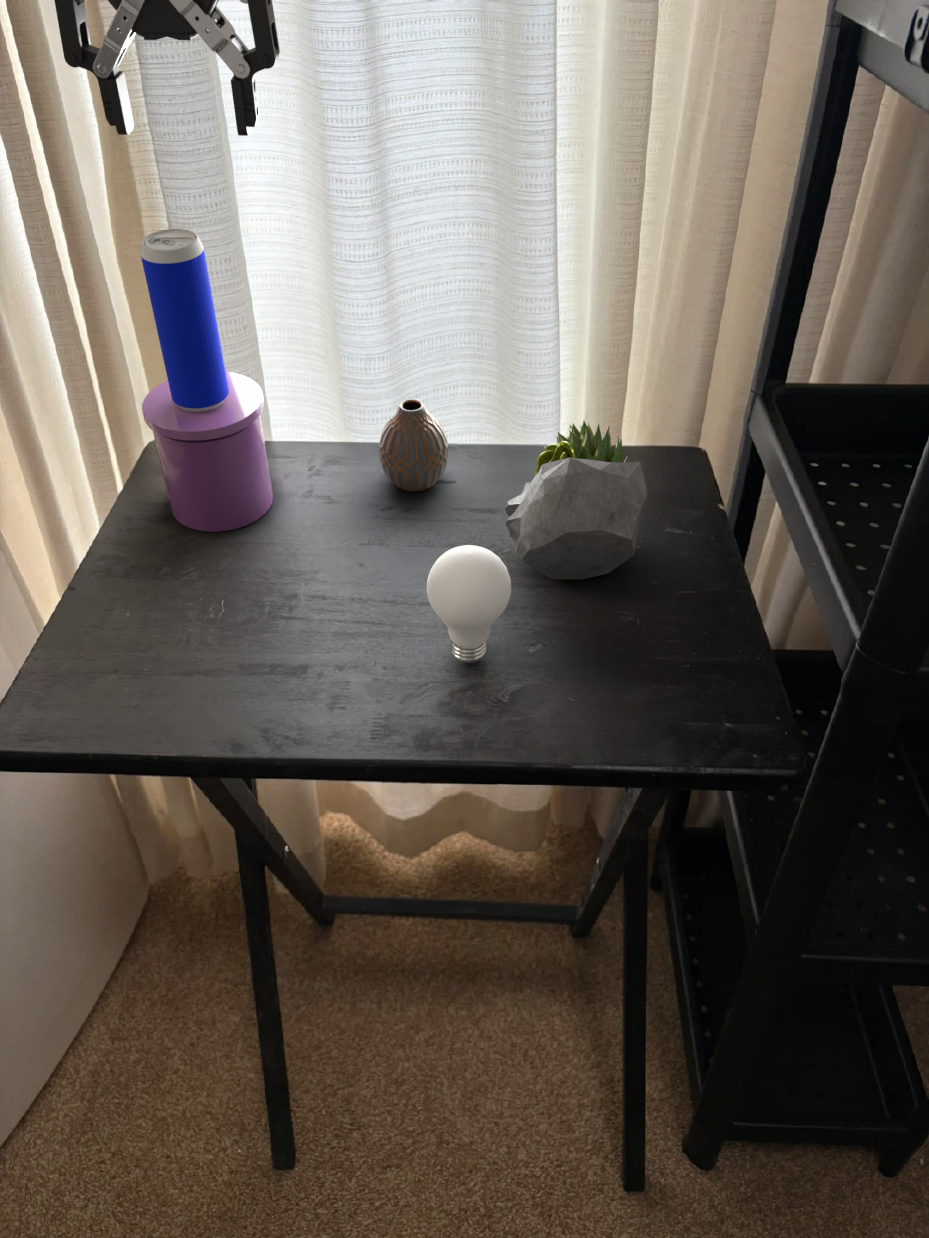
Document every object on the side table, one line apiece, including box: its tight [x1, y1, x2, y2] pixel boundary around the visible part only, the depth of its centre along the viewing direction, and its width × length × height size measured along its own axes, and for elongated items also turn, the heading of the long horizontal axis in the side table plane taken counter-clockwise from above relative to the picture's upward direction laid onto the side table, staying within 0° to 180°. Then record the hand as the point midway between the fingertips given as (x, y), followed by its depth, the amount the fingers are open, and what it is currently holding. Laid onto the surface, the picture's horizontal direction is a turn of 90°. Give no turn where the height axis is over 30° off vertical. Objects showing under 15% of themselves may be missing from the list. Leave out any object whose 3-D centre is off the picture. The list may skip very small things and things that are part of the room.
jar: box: [141, 371, 274, 533], centre depth 99 cm, size 11×11×12 cm
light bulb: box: [426, 544, 512, 664], centre depth 82 cm, size 7×7×11 cm
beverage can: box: [140, 228, 229, 412], centre depth 90 cm, size 5×5×15 cm
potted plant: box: [504, 419, 649, 580], centre depth 94 cm, size 12×13×15 cm
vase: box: [378, 398, 449, 492], centre depth 103 cm, size 7×7×9 cm
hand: (186, 132), depth 74 cm, fingers open, 8 cm apart
